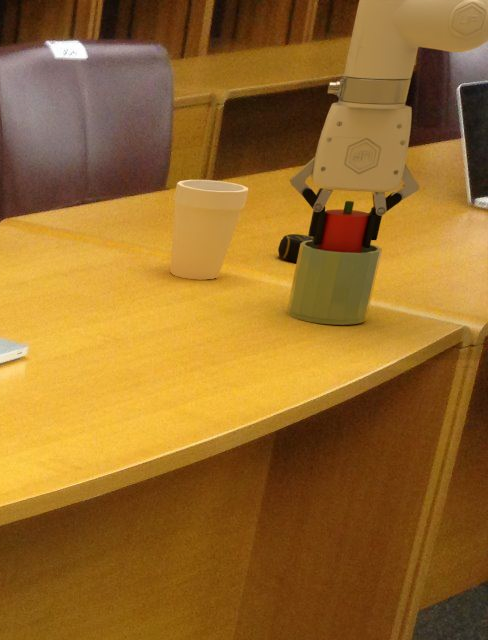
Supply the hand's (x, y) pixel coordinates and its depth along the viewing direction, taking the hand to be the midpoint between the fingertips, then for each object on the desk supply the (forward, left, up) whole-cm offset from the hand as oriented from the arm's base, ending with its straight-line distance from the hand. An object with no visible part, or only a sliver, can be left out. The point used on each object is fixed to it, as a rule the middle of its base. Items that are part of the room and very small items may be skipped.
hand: (340, 242), depth 195 cm
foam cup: (+24, +5, -9) cm, 26 cm away
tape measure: (+32, -18, -10) cm, 38 cm away
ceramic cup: (0, 0, -9) cm, 9 cm away
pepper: (0, 0, -1) cm, 1 cm away
